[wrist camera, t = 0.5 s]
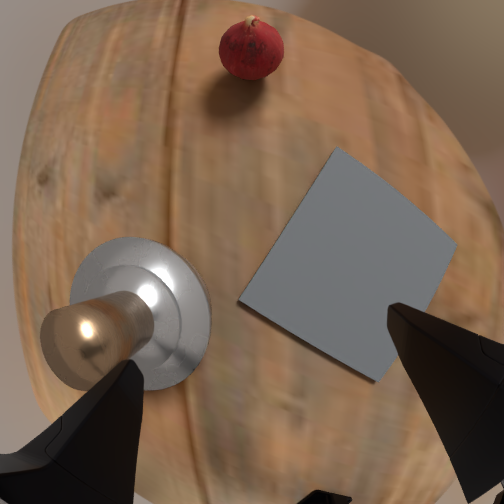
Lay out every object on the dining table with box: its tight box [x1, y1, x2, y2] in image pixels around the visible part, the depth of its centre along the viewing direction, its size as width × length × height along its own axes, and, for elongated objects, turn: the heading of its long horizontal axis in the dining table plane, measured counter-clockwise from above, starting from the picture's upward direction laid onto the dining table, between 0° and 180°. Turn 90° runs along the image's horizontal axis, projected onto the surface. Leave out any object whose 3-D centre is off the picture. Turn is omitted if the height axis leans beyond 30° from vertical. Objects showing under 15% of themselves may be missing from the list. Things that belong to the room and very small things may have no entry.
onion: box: [219, 15, 284, 80], centre depth 20 cm, size 6×6×8 cm
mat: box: [239, 147, 457, 382], centre depth 24 cm, size 16×16×1 cm
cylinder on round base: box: [40, 237, 212, 391], centre depth 16 cm, size 12×12×9 cm
